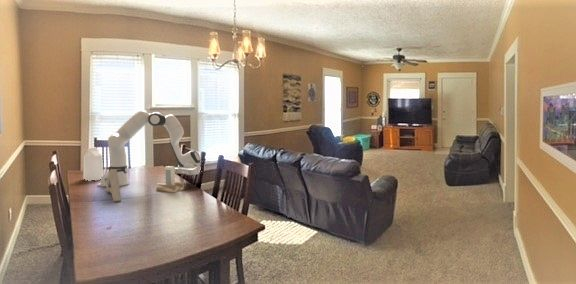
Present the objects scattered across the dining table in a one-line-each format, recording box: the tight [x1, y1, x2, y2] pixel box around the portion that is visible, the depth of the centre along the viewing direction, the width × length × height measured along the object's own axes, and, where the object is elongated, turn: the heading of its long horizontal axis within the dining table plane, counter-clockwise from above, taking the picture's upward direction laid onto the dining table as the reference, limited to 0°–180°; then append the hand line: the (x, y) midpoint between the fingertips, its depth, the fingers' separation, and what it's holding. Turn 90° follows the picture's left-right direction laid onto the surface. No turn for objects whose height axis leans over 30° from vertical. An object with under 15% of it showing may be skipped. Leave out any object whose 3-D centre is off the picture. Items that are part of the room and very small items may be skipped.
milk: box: [82, 146, 105, 182], centre depth 326 cm, size 12×12×26 cm
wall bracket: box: [105, 169, 122, 203], centre depth 269 cm, size 22×4×30 cm
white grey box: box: [164, 165, 176, 185], centre depth 288 cm, size 4×6×15 cm
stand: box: [155, 181, 185, 193], centre depth 288 cm, size 11×16×4 cm
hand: (177, 172), depth 295 cm, fingers open, 8 cm apart
